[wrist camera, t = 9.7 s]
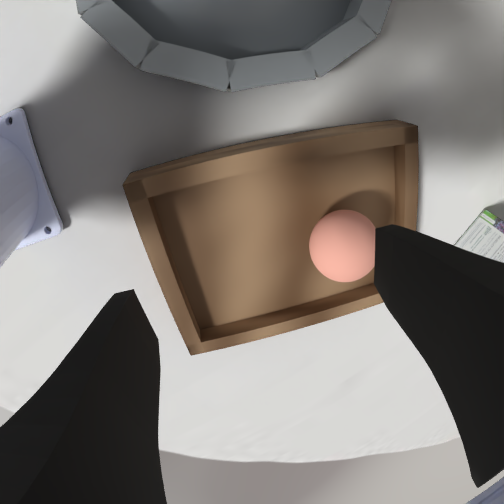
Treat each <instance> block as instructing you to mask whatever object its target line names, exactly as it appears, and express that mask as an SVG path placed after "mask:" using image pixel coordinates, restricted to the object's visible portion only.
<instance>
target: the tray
mask: <svg viewBox="0 0 504 504" xmlns="http://www.w3.org/2000/svg"><path fill="white" fill-rule="evenodd" d="M418 171H419V155H418V126H416V125H413V124H410V123H406V122H403V121H399V120H389V121H379V122H370V123H362V124H354V125H346V126H339V127H332V128H325V129H318V130H312V131H306V132H300V133H294V134H288V135H283V136H278V137H272V138H267V139H262V140H257V141H252V142H248V143H243V144H238V145H234V146H229V147H225V148H221V149H217V150H212V151H208V152H204V153H200V154H196V155H192V156H188V157H185V158H181V159H177V160H173V161H170V162H166V163H163V164H159V165H156V166H152V167H149V168H145V169H142V170H139V171H135V172H132V173H130V174H129V176H128V177H127V179H126V180H125V182H124V183H123V188H124V191H125V194H126V197H127V200H128V203H129V206H130V209H131V212H132V214H133V217H134V220H135V223H136V226H137V228H138V231H139V234H140V236H141V239H142V242H143V244H144V247H145V250H146V252H147V255H148V257H149V260H150V263H151V265H152V268H153V270H154V273H155V275H156V278H157V280H158V282H159V285H160V287H161V290H162V292H163V294H164V297H165V299H166V302H167V304H168V306H169V308H170V311H171V313H172V315H173V318H174V320H175V322H176V324H177V327H178V329H179V331H180V333H181V335H182V338H183V340H184V342H185V344H186V346H187V348H188V350H189V353H190V355H196V354H200V353H205V352H209V351H214V350H218V349H223V348H227V347H231V346H235V345H239V344H243V343H247V342H251V341H255V340H259V339H263V338H267V337H271V336H275V335H278V334H282V333H286V332H289V331H293V330H297V329H300V328H304V327H307V326H311V325H314V324H317V323H321V322H324V321H327V320H331V319H334V318H337V317H340V316H344V315H347V314H350V313H353V312H356V311H359V310H362V309H365V308H368V307H371V306H374V305H377V304H380V303H383V302H384V301H383V300H382V298H381V296H380V294H379V292H378V290H377V289H376V287H375V285H374V267H373V269H372V270H371V271H370V272H369V273H368V274H367V275H366V276H364V277H362V278H361V279H358V280H356V281H352V282H338V281H334V280H331V279H329V278H327V277H326V276H324V275H323V274H322V273H321V272H320V271H319V270H318V269H317V268H316V267H315V265H314V263H313V261H312V259H311V255H310V250H309V241H310V236H311V233H312V231H313V229H314V227H315V225H316V224H317V223H318V221H319V220H320V219H321V218H323V217H324V216H325V215H327V214H329V213H331V212H333V211H337V210H352V211H356V212H359V213H361V214H363V215H364V216H366V217H367V218H368V219H369V220H370V221H371V222H372V223H373V225H374V226H375V228H379V227H383V226H387V225H391V224H394V225H398V226H402V227H405V228H408V229H411V230H414V231H416V223H417V206H418Z"/></svg>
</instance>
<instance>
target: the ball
mask: <svg viewBox="0 0 504 504" xmlns="http://www.w3.org/2000/svg"><path fill="white" fill-rule="evenodd" d="M309 250H310V255H311V259H312V261H313V263H314V265H315V267H316V268H317V269H318V270H319V271H320V272H321V273H322V274H323V275H324V276H326V277H327V278H329V279H331V280H334V281H338V282H352V281H356V280H358V279H361V278H362V277H364V276H366V275H367V274H368V273H369V272H370V271H371V270H372V269H373V267H374V266H375V226H374V225H373V223H372V222H371V221H370V220H369V219H368V218H367V217H366V216H364V215H363V214H361V213H359V212H356V211H352V210H337V211H333V212H331V213H329V214H327V215H325V216H324V217H323V218H321V219H320V220H319V221H318V223H317V224H316V225H315V227H314V229H313V231H312V233H311V236H310V241H309Z"/></svg>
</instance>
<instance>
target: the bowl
mask: <svg viewBox="0 0 504 504" xmlns="http://www.w3.org/2000/svg"><path fill="white" fill-rule="evenodd" d="M390 3H391V0H76V4H77V10H78V14H80V15H82V16H81V17H80V18H82V19H83V20H84V21H85V22H86V23H87V24H88V25H89V26H90V27H92V28H93V29H94V30H95V31H96V32H97V33H98V34H99V35H100V36H102V37H103V38H104V39H105V40H106V41H107V42H108V43H109V44H110V45H111V46H112V47H114V48H115V49H116V50H117V51H118V52H119V53H120V54H121V55H122V56H123V57H124V58H125V59H126V60H127V61H128V62H130V63H131V64H132V65H133V66H134V67H135V68H138V69H140V70H141V71H145V72H148V73H153V74H158V75H162V76H166V77H170V78H175V79H179V80H183V81H186V82H190V83H194V84H198V85H201V86H205V87H209V88H212V89H216V90H219V91H224V92H226V91H228V92H235V91H240V90H245V89H250V88H256V87H262V86H268V85H275V84H282V83H289V82H296V81H305V80H314V79H316V77H322V76H323V75H325V74H326V73H327V72H329V71H330V70H331V69H333V68H334V67H336V66H337V65H338V64H340V63H341V62H342V61H344V60H345V59H347V58H348V57H349V56H351V55H352V54H354V53H355V52H356V51H358V50H359V49H361V48H362V47H364V46H365V45H366V44H368V43H369V42H371V41H372V40H374V39H375V38H377V37H376V34H380V32H381V29H382V26H383V23H384V20H385V18H386V15H387V12H388V9H389V6H390Z"/></svg>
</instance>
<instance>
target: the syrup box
mask: <svg viewBox="0 0 504 504" xmlns="http://www.w3.org/2000/svg"><path fill="white" fill-rule="evenodd" d="M454 246H456V247H459V248H461V249H464V250H467V251H470V252H473V253H475V254H478V255H481V256H484V257H487V258H490V259H493V260H496V261H500V262H503V263H504V221H502V220H501V219H499V218H498V217H496V216H495V215H493V214H492V213H490V212H489V211H488V210H483V212H482V213H481V214H480V215H479V216H478V218H477V219H476V220H475V221H474V223H473V224H472V225H471V226H470V227H469V229H468V230H467V231H466V232H465V233H464V235H463V236H462V237H461V238H460V239H459V241H458V242H457V243H456V244H455V245H454Z"/></svg>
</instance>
